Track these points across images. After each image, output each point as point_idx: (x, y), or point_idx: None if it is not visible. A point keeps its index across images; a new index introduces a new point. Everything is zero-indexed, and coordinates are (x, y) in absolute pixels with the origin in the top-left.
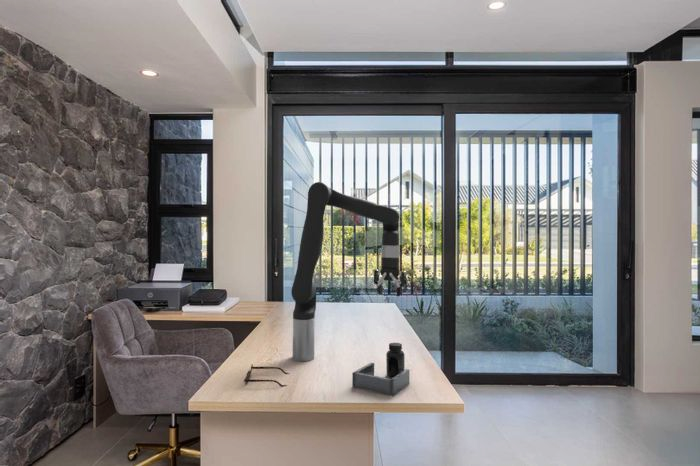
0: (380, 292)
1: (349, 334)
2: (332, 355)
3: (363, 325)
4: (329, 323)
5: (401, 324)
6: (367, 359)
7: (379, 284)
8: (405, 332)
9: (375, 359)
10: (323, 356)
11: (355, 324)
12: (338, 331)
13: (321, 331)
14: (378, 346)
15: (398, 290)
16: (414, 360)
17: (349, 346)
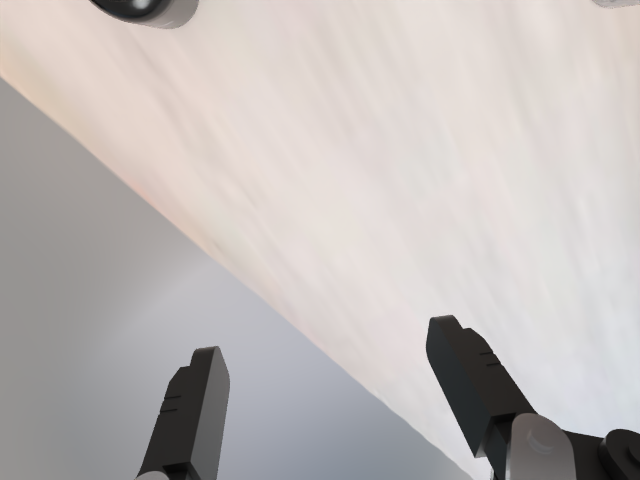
0: (443, 335)
1: (537, 314)
2: (519, 79)
3: (524, 391)
4: (623, 359)
5: (436, 440)
6: (375, 121)
7: (526, 439)
8: (398, 402)
9: (350, 140)
10: (551, 40)
11: (548, 387)
12: (578, 318)
13: (631, 291)
14: (409, 269)
15: (177, 420)
16: (233, 215)
17: (496, 215)
